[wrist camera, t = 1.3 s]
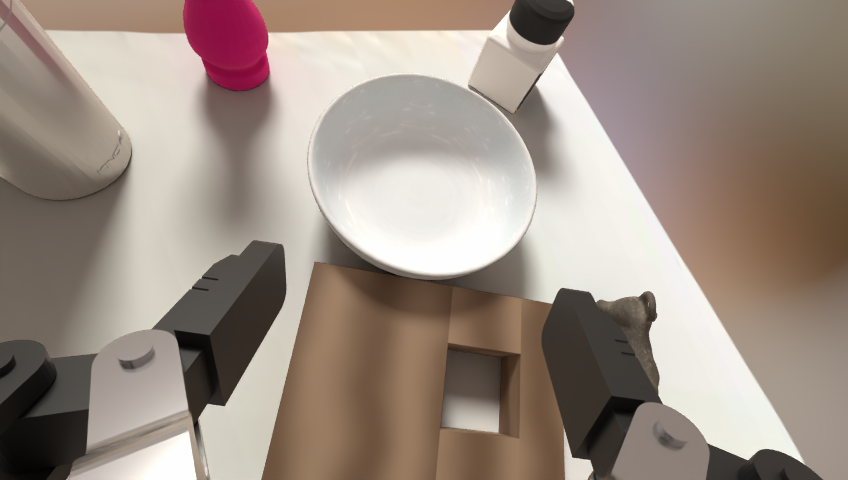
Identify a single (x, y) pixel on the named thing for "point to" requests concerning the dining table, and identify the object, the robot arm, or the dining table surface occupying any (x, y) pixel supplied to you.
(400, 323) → the socket board
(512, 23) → the medicine bottle
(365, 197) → the serving bowl
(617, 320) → the dog figurine
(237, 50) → the pepper mill
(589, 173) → the dining table surface
